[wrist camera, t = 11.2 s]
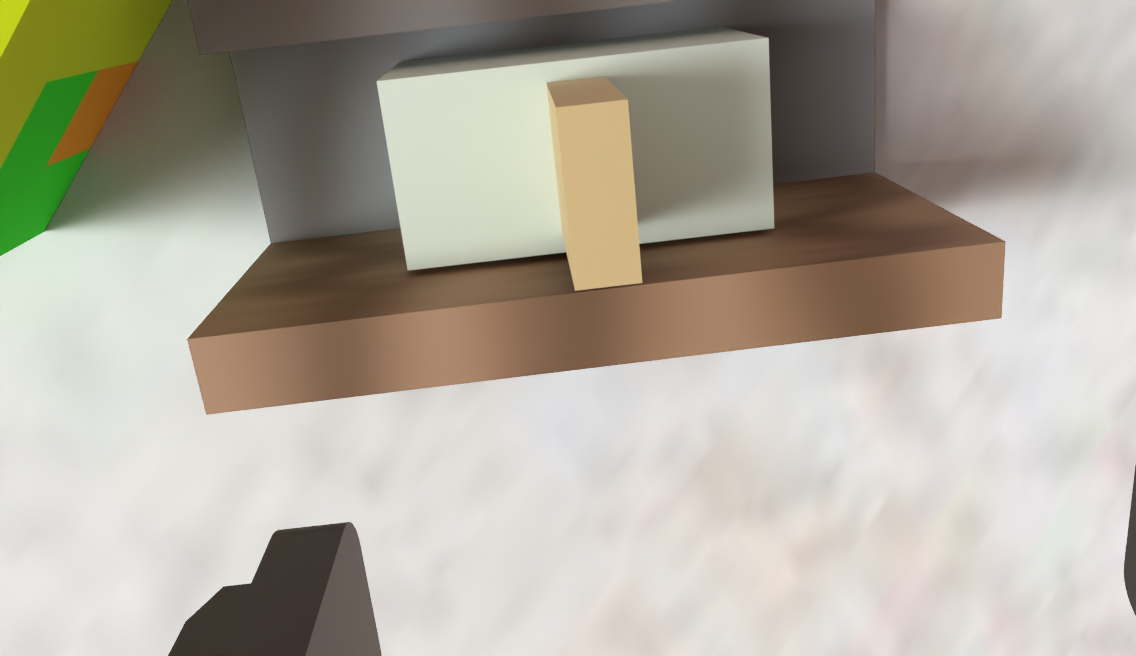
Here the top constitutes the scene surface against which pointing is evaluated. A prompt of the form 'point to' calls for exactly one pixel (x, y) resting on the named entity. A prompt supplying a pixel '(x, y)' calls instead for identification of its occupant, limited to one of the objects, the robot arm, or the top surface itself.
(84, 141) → the puzzle toy
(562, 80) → the wide pale green cuboid
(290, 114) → the board
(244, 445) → the top surface
